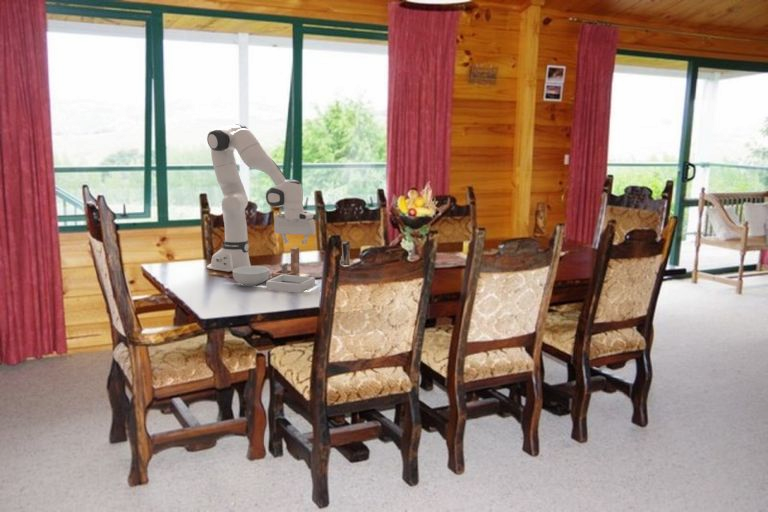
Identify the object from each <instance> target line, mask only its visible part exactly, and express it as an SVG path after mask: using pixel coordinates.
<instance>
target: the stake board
mask: <svg viewBox="0 0 768 512" xmlns="http://www.w3.org/2000/svg"><path fill="white" fill-rule="evenodd" d="M288 266H289V264H288V262H285V263H282V264H280V269H281V273H284V274H287V270H288ZM299 274H300V276H305V277H310V276H311V274H309V273H300V272H299ZM269 278H271V279H272V278H275V277H272V275H271V276H269V277H268V279H269Z"/></svg>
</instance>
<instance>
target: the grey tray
mask: <svg viewBox="0 0 768 512" xmlns="http://www.w3.org/2000/svg"><path fill="white" fill-rule="evenodd" d="M265 282H266V283H265V286H266V287H265V288H266V290H268V291H279V292H289V293H296V294H297V293H298V294H301V293H304V292H305V291H307V288H309V287H312V286H313V285H316V277H314V276H307V277H305V276H294V275H283V274H282V275H279V276H277V277H275V278H271V279H267V280H266V281H265Z"/></svg>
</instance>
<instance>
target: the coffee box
mask: <svg viewBox="0 0 768 512" xmlns="http://www.w3.org/2000/svg"><path fill="white" fill-rule="evenodd" d="M341 241H342V256H341V264H342V265H351V264H350V262H351V261H350V251H351V250H350V241H349V240H348V241H344V240H341Z"/></svg>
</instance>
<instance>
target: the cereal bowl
mask: <svg viewBox="0 0 768 512" xmlns="http://www.w3.org/2000/svg"><path fill="white" fill-rule="evenodd" d="M269 277H270V268H269V267H267V266H264V265H251V266H244V267H238V268H235V269H233V271H232V278H233V279H234V281H235V282H236V283H238V284H241V285H243V286H244V287H256V286H258V285H260V284H262V283H264V282H266V281H268V280H269Z"/></svg>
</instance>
